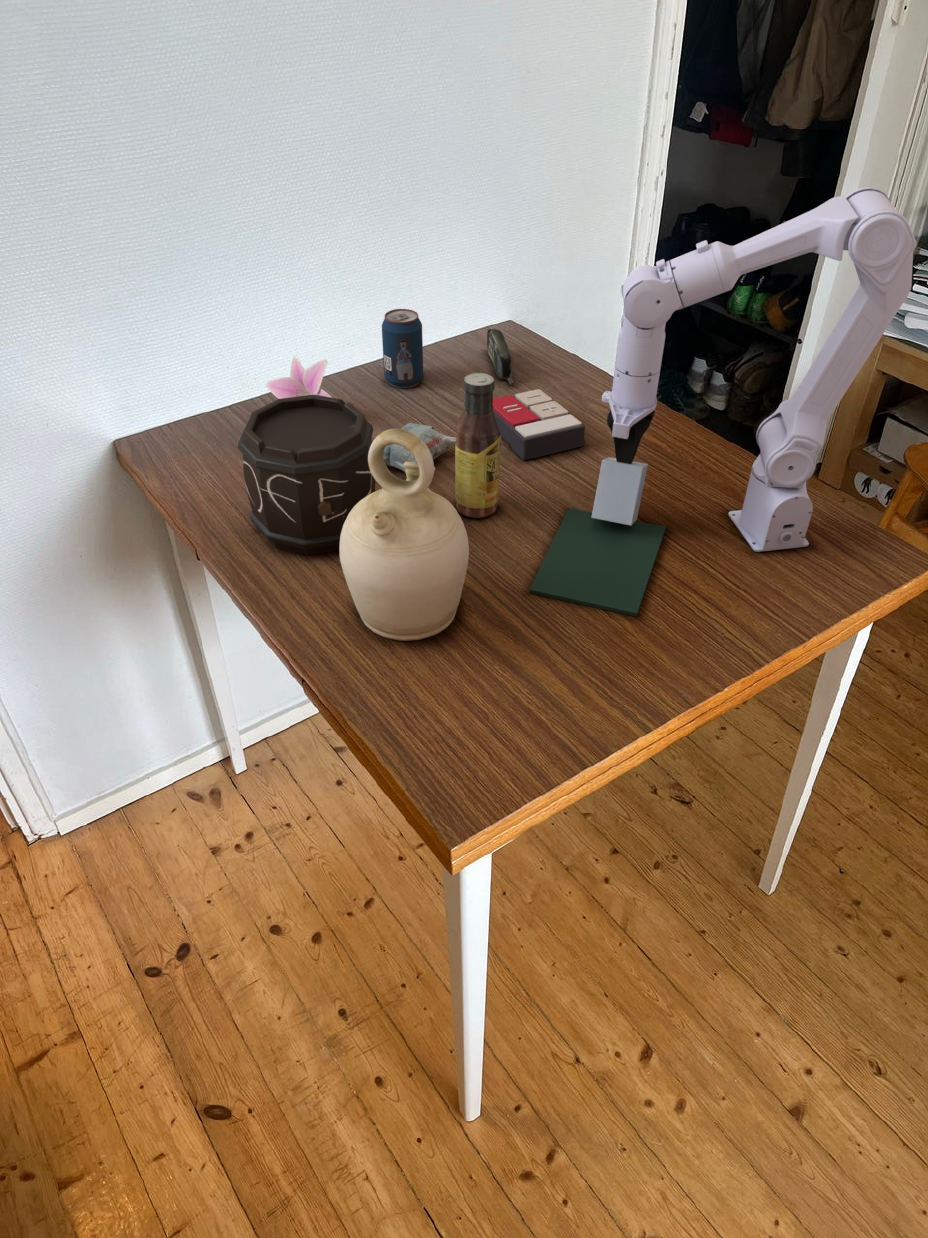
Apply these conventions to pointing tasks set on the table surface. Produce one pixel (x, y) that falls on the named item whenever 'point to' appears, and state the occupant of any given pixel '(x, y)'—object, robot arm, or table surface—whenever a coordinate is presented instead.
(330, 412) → the octagonal coffee canister
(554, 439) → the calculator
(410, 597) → the jug
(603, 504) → the grey block
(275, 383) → the lily
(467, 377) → the sauce bottle
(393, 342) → the soda can
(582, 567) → the rubber mat
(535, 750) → the table surface
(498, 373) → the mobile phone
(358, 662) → the table surface
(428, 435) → the packaged food
